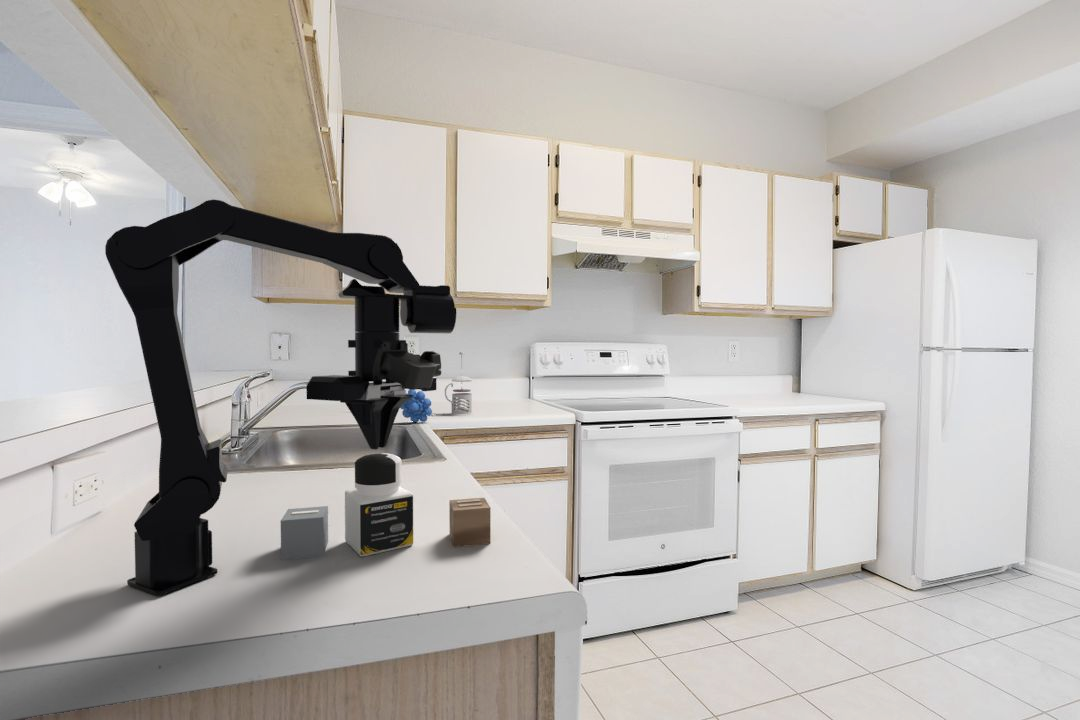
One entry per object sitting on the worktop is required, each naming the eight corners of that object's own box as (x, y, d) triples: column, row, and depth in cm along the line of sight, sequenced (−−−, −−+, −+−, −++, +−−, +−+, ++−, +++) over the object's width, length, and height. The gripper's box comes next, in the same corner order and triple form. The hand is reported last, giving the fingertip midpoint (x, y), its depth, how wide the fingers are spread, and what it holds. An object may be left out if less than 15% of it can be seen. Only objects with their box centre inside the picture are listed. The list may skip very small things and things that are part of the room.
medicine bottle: (360, 558, 67) (359, 463, 66) (344, 541, 72) (343, 454, 72) (414, 545, 71) (413, 457, 70) (394, 530, 77) (394, 448, 76)
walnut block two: (490, 544, 72) (490, 506, 72) (453, 547, 70) (453, 509, 70) (484, 531, 76) (484, 496, 76) (449, 534, 75) (449, 499, 75)
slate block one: (323, 555, 68) (323, 516, 67) (281, 560, 66) (280, 519, 66) (328, 542, 72) (327, 504, 72) (288, 545, 71) (288, 507, 71)
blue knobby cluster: (396, 424, 181) (396, 390, 181) (399, 422, 188) (399, 388, 188) (430, 424, 182) (430, 389, 182) (433, 421, 189) (432, 388, 189)
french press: (472, 416, 204) (472, 351, 204) (442, 416, 204) (442, 351, 204) (476, 412, 214) (475, 351, 213) (447, 412, 214) (447, 351, 214)
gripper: (372, 329, 59) (373, 468, 59) (466, 333, 76) (466, 441, 76) (302, 331, 64) (303, 459, 64) (405, 334, 81) (406, 436, 81)
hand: (378, 448), depth 71 cm, fingers closed
